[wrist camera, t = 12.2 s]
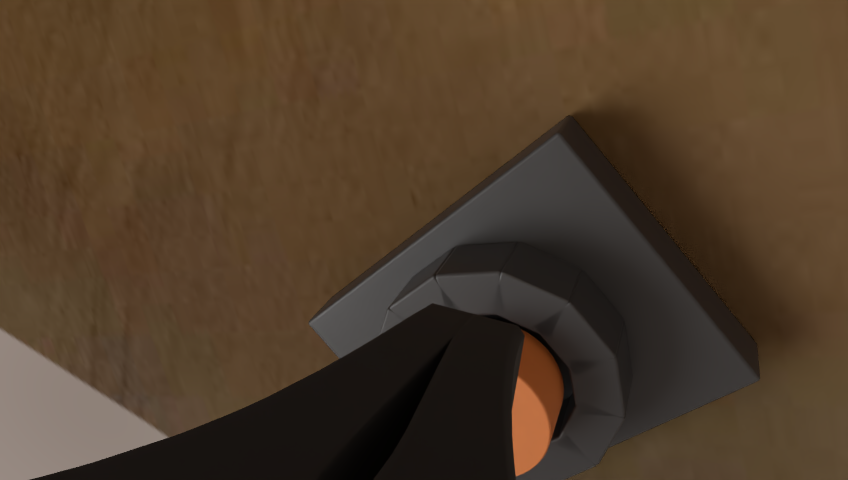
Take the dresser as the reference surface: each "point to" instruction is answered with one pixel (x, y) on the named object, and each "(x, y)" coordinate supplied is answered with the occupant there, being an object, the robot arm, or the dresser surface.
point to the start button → (535, 404)
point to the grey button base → (565, 295)
